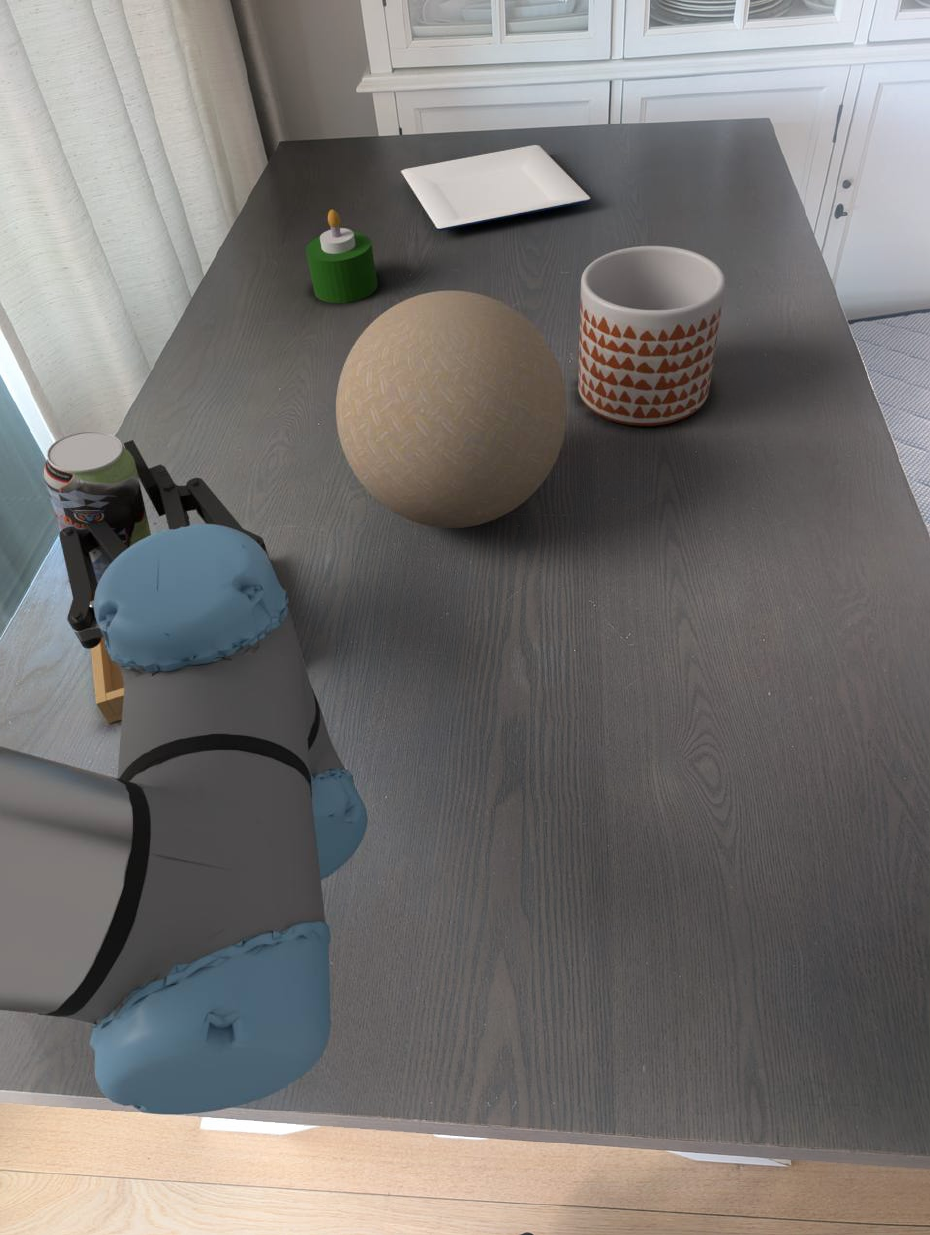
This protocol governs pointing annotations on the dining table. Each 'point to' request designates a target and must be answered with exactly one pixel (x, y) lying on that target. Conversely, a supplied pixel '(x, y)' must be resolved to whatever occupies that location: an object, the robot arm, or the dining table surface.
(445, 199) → the plate
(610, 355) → the planter
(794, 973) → the dining table surface
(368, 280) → the candle
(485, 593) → the dining table surface
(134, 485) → the beverage can
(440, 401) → the decorative sphere
